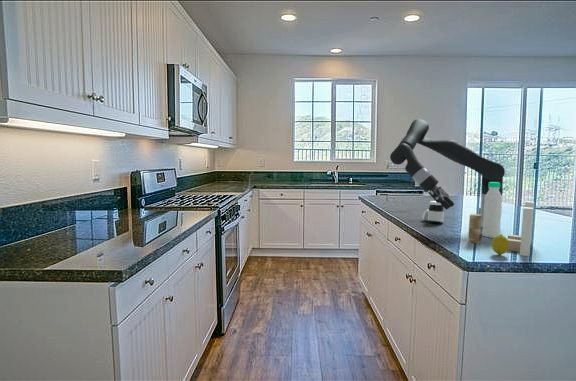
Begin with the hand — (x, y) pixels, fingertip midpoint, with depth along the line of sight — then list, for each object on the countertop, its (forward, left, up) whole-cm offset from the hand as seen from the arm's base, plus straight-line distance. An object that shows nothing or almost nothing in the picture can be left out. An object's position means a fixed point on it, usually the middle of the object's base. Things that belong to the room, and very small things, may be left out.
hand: (450, 207), depth 157 cm
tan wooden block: (+9, +5, -14) cm, 17 cm away
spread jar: (-30, +22, -15) cm, 40 cm away
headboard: (+23, +13, -14) cm, 30 cm away
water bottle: (+5, +21, -15) cm, 26 cm away
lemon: (+26, -3, -15) cm, 30 cm away
